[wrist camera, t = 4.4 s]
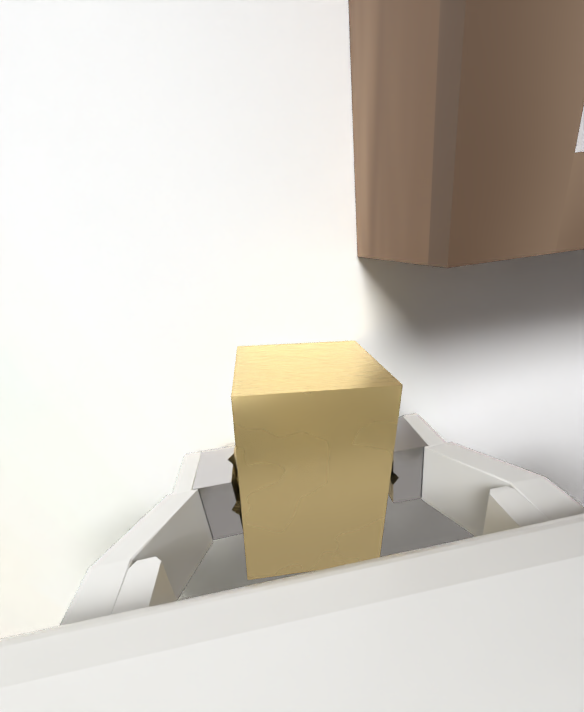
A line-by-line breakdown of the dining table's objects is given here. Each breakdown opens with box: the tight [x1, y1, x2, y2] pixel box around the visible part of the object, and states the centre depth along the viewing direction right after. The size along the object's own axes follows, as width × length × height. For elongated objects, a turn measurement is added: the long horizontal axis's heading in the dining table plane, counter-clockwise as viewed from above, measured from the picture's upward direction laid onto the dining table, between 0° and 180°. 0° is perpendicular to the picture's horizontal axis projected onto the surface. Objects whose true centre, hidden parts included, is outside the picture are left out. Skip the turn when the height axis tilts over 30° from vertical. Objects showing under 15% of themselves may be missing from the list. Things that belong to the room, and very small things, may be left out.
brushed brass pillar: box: [231, 341, 403, 580], centre depth 10 cm, size 4×6×4 cm, turn 0°
